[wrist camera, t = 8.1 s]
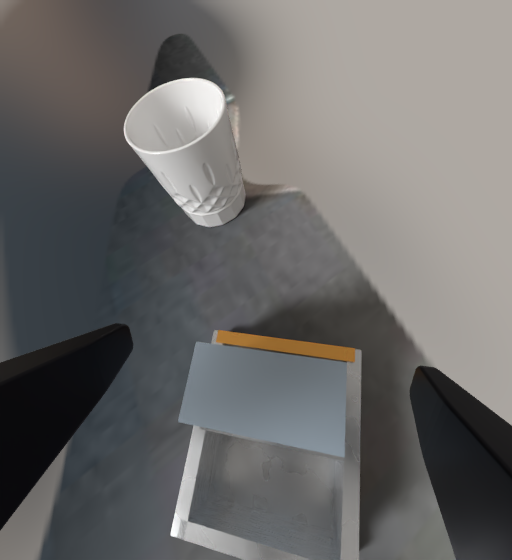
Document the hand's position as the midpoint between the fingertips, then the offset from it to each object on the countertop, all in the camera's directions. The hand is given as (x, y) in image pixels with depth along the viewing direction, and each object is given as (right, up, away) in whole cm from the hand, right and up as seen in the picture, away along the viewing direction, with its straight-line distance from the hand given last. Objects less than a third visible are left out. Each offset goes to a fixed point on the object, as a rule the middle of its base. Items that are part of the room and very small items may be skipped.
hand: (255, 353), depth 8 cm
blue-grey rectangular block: (+2, -6, +11) cm, 12 cm away
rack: (+2, -8, +11) cm, 14 cm away
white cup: (-4, +11, +20) cm, 23 cm away
